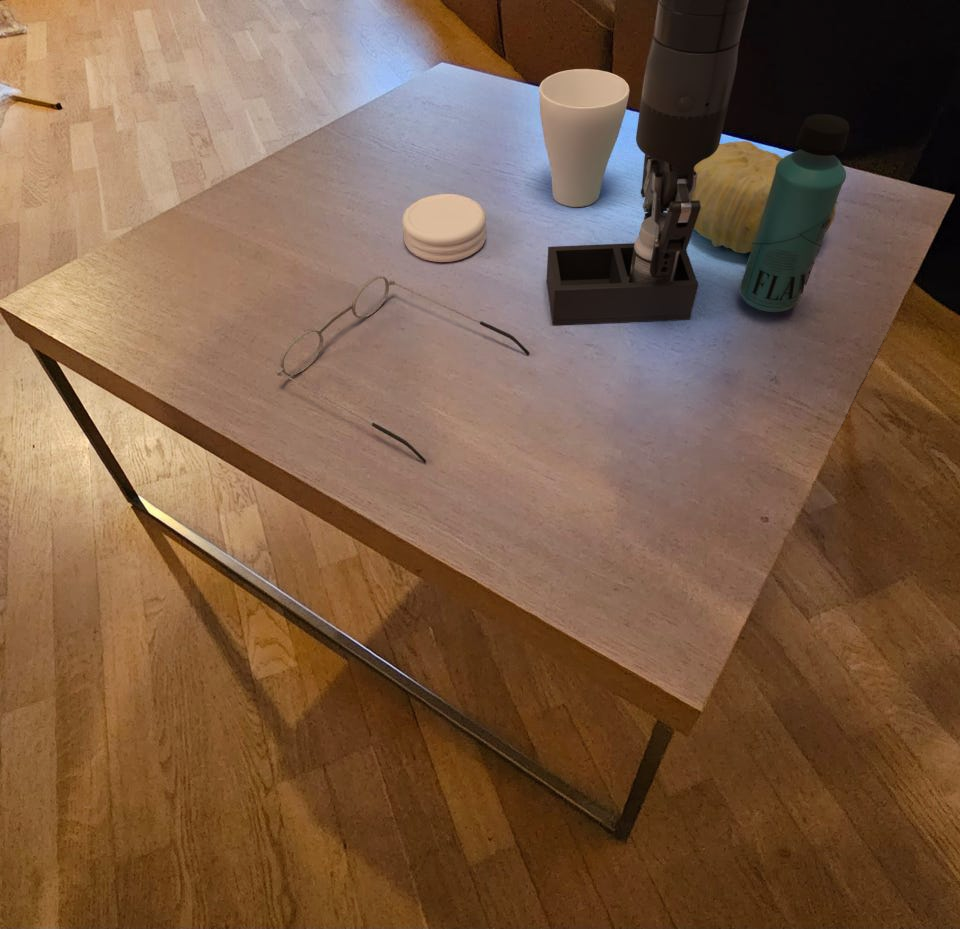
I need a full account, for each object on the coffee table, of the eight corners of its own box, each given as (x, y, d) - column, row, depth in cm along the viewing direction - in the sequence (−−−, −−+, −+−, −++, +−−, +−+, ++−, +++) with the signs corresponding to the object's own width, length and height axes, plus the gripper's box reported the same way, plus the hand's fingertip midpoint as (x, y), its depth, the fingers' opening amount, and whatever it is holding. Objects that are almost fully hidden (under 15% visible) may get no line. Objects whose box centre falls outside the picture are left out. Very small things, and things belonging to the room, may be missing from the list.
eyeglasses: (390, 293, 82) (386, 263, 79) (530, 358, 75) (532, 328, 72) (277, 385, 73) (267, 356, 70) (424, 469, 66) (421, 441, 63)
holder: (546, 281, 83) (548, 246, 79) (675, 276, 83) (683, 240, 79) (552, 325, 78) (554, 290, 74) (690, 319, 78) (698, 284, 74)
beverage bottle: (733, 320, 77) (789, 136, 62) (735, 283, 81) (788, 101, 66) (797, 328, 76) (871, 142, 61) (795, 290, 80) (863, 107, 65)
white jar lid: (437, 274, 84) (435, 248, 81) (388, 238, 89) (385, 212, 86) (502, 241, 88) (502, 215, 85) (452, 208, 93) (450, 183, 90)
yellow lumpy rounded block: (790, 299, 83) (845, 215, 88) (813, 228, 74) (872, 138, 78) (659, 251, 90) (716, 175, 94) (664, 180, 80) (727, 99, 85)
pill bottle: (641, 275, 82) (652, 207, 75) (678, 290, 80) (693, 222, 73) (618, 295, 79) (628, 228, 73) (656, 312, 77) (669, 244, 71)
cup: (614, 219, 90) (628, 110, 80) (531, 214, 91) (534, 106, 81) (617, 176, 97) (631, 70, 86) (539, 172, 98) (543, 67, 88)
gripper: (750, 130, 58) (706, 300, 71) (709, 57, 68) (677, 220, 81) (658, 134, 58) (630, 304, 72) (629, 61, 68) (610, 223, 81)
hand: (655, 259), depth 76 cm, fingers closed on pill bottle, 4 cm apart
